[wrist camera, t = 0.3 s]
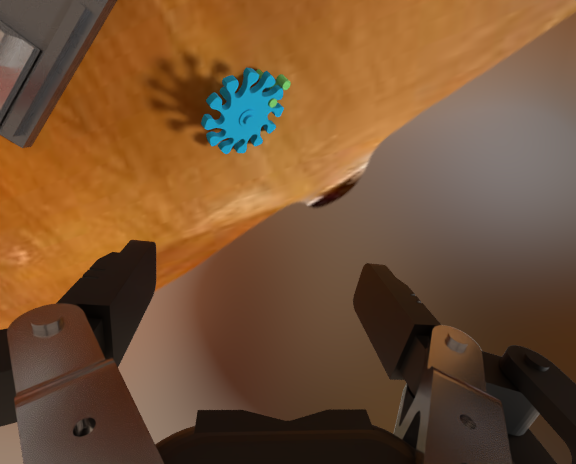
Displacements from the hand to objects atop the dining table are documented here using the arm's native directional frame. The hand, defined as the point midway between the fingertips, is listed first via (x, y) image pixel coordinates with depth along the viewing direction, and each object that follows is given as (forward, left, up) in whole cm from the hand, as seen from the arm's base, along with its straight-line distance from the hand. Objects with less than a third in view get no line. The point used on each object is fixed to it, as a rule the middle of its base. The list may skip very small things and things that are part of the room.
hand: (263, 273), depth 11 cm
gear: (-6, 0, -29) cm, 30 cm away
